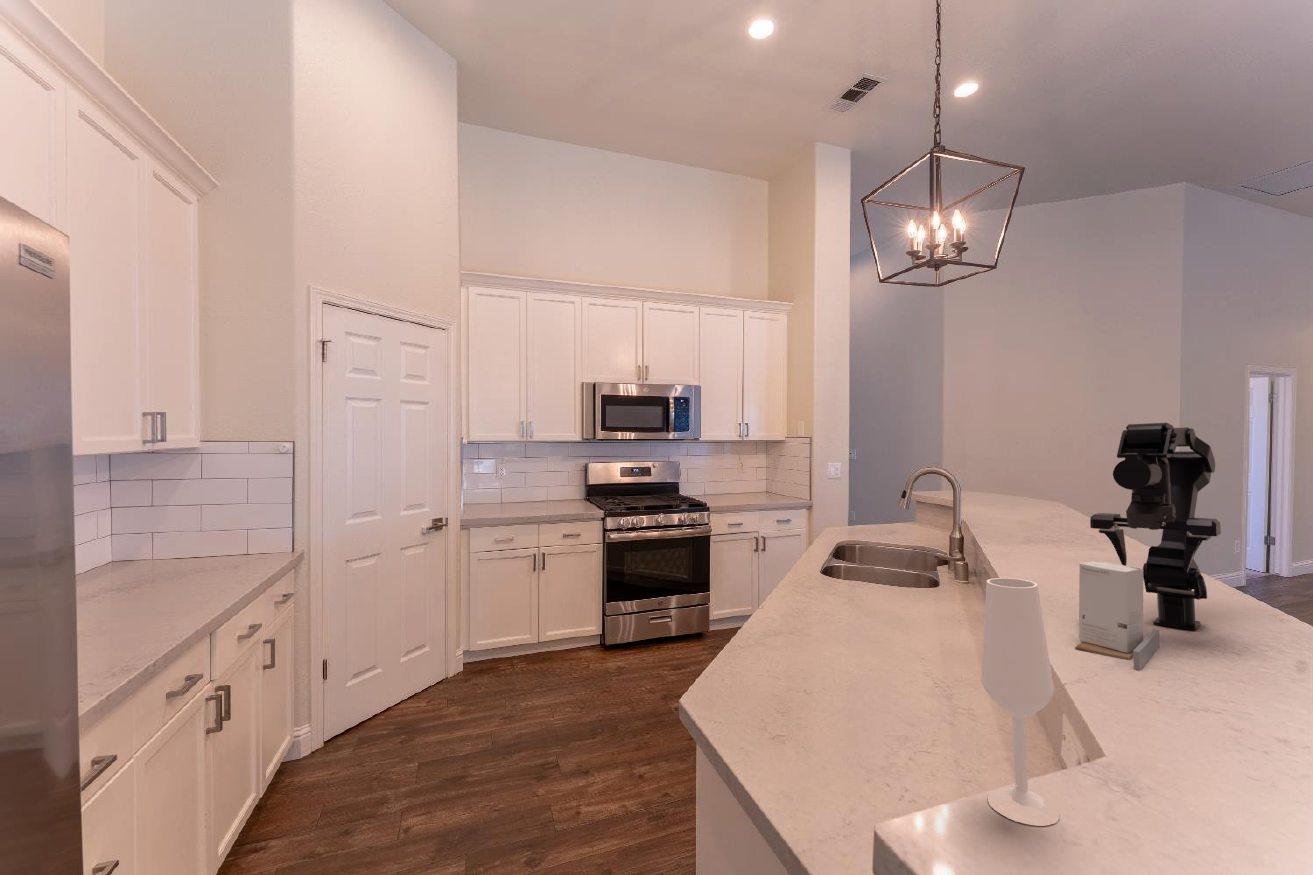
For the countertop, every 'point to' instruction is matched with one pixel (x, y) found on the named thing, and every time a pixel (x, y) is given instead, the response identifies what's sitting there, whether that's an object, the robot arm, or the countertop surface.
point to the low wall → (1146, 649)
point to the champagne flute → (1016, 665)
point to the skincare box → (1111, 605)
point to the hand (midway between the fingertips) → (1154, 568)
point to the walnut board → (1103, 650)
